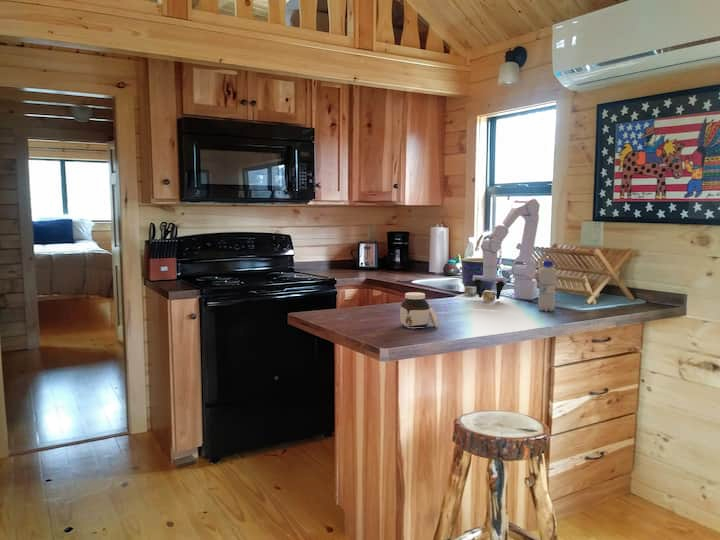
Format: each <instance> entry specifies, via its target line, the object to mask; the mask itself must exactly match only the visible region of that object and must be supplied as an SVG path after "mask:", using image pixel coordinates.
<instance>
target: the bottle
mask: <svg viewBox="0 0 720 540" xmlns="http://www.w3.org/2000/svg"><path fill="white" fill-rule="evenodd" d="M553 265H554V263H553V261H552V260H544V261H543V267H540V269H539V272H538V273H539V274H538V281H539V286H538V288H539V289H538V290H539V291H538V301H537V306H538V309H539V311H540V312H545V313H547V312H548V311H549V312H553V311H554V310H555V308H556V298H555V295H556V282H557V276H558V275H557V269H556V268H555V267H553Z"/></svg>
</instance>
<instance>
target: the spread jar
mask: <svg viewBox="0 0 720 540" xmlns="http://www.w3.org/2000/svg"><path fill="white" fill-rule="evenodd" d="M399 308H400V309H399V311H400V312H399V314H400V315H399V317H400V319H399V320H400V323H401V325H402V324H403V325H405V326H409V327H425V328H427V326H428V325H429V324H430V323H431V325H432V324H433V325H434V326H435V327H434V328H437V327H436V326H438V327H440V323H439V319H438V316H437V313H436V311H435V310H434V308H433V307H430V304H429V302H428V301H427V300H426V293H424V292H418V291H417V292H416V291H415V292H413V291H411V292H405V294H404V299H403V300H402V301H401V303H400V307H399ZM403 325H402V326H403ZM433 325H432V326H433Z"/></svg>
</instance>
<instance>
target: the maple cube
mask: <svg viewBox="0 0 720 540" xmlns="http://www.w3.org/2000/svg"><path fill="white" fill-rule="evenodd" d="M482 295H483V301H494V300H495V296H496V290H491V291H490V290H486V291H483V292H482Z"/></svg>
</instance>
